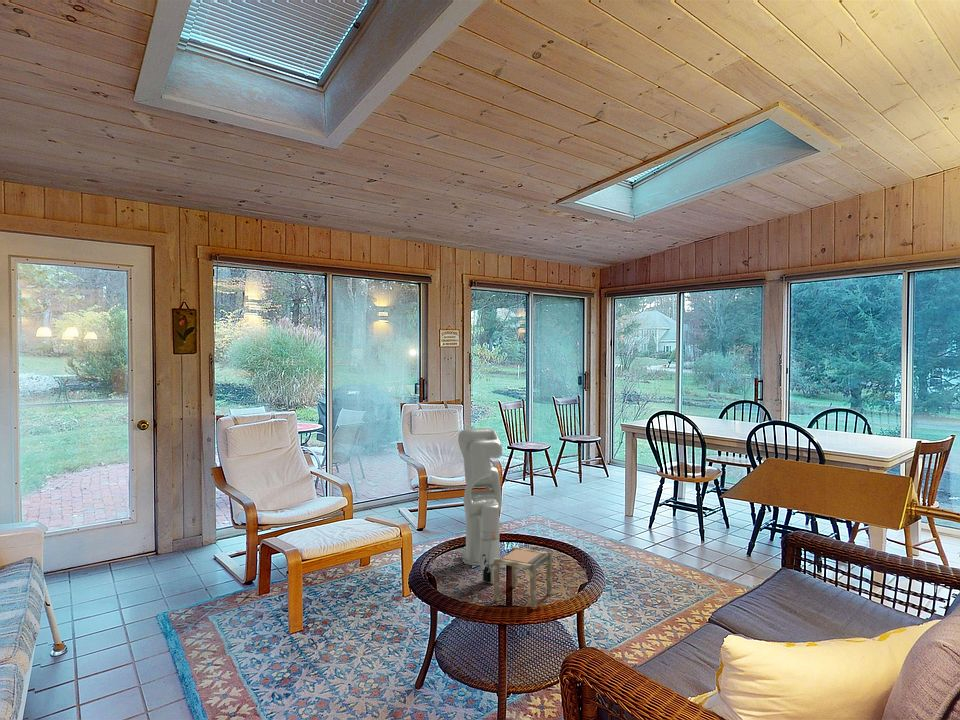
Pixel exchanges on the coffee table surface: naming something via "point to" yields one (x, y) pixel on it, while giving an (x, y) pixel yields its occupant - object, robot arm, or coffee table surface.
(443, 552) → the coffee table surface
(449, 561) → the coffee table surface
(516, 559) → the trapdoor
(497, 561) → the trapdoor frame
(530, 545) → the coffee table surface
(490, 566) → the smooth gray block
